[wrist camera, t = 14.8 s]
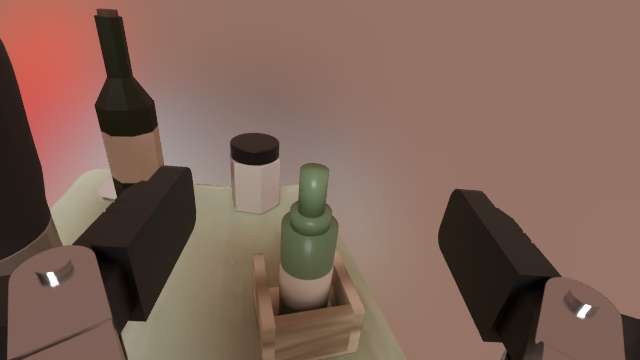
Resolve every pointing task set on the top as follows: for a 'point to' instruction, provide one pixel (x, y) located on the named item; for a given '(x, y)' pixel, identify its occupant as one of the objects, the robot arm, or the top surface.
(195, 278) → the top surface
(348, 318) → the cradle
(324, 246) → the green bottle
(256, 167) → the jar
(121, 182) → the wine bottle
